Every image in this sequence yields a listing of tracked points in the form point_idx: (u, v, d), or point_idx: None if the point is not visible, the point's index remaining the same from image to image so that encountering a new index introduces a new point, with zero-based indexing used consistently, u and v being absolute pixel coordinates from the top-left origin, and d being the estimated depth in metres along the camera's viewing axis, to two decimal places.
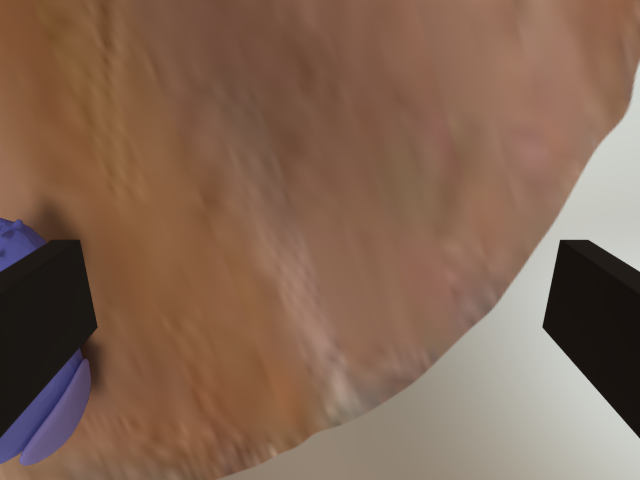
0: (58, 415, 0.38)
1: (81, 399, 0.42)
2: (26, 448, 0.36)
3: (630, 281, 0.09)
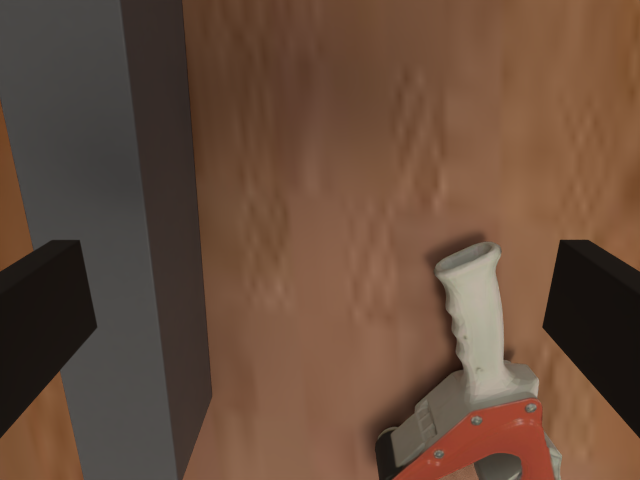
0: None
1: None
2: None
3: (630, 281, 0.09)
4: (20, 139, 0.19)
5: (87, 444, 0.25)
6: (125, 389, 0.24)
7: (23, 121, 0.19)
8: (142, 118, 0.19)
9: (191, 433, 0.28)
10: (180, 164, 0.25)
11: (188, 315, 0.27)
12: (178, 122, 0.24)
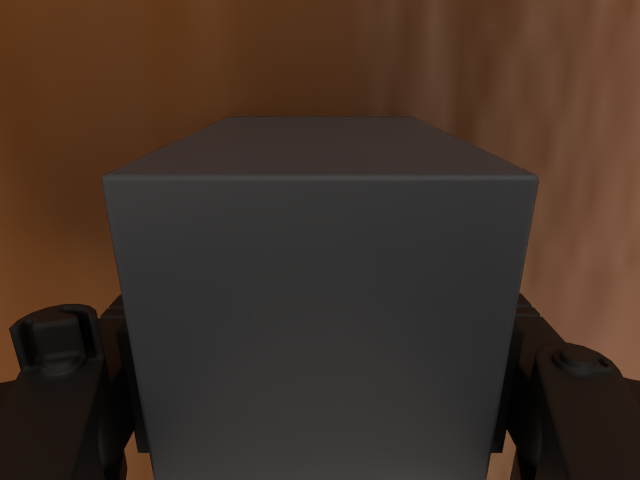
0: None
1: None
2: None
3: None
4: None
5: None
6: None
7: None
8: None
9: None
10: None
11: None
12: None
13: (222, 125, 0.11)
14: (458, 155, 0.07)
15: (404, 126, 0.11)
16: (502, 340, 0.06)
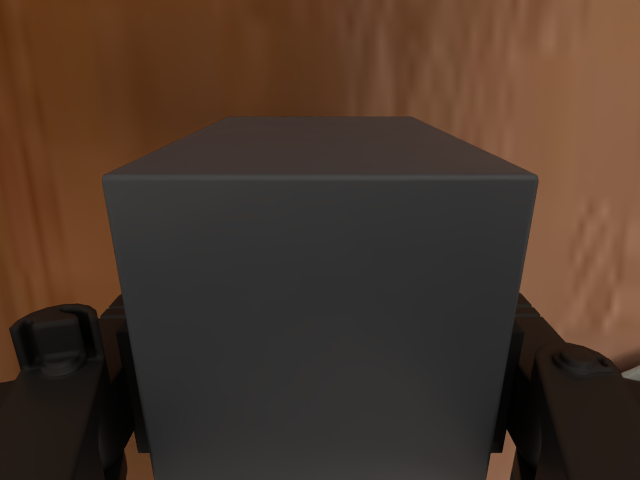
0: None
1: None
2: None
3: None
4: None
5: None
6: None
7: None
8: None
9: None
10: None
11: None
12: None
13: (222, 125, 0.11)
14: (458, 155, 0.07)
15: (404, 126, 0.11)
16: (502, 339, 0.06)
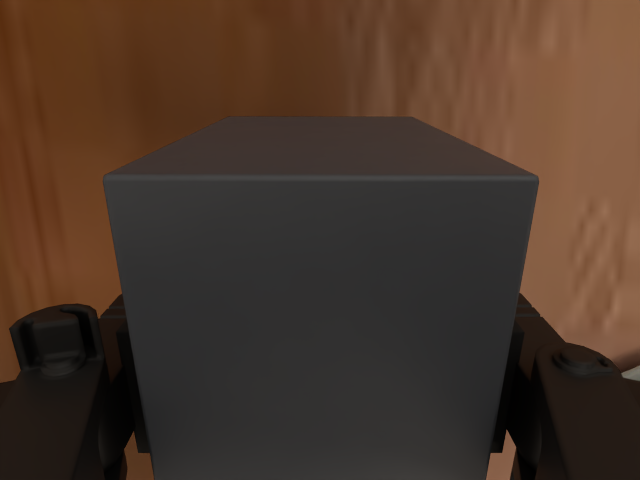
0: None
1: None
2: None
3: None
4: None
5: None
6: None
7: None
8: None
9: None
10: None
11: None
12: None
13: (222, 125, 0.11)
14: (458, 155, 0.07)
15: (404, 126, 0.11)
16: (502, 339, 0.06)
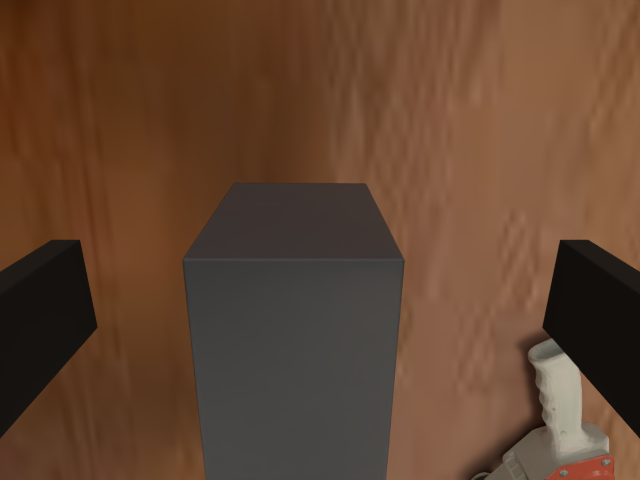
0: None
1: None
2: None
3: (630, 281, 0.09)
4: None
5: None
6: None
7: None
8: None
9: None
10: None
11: None
12: None
13: (233, 198, 0.16)
14: (372, 239, 0.12)
15: (354, 200, 0.16)
16: (392, 341, 0.12)
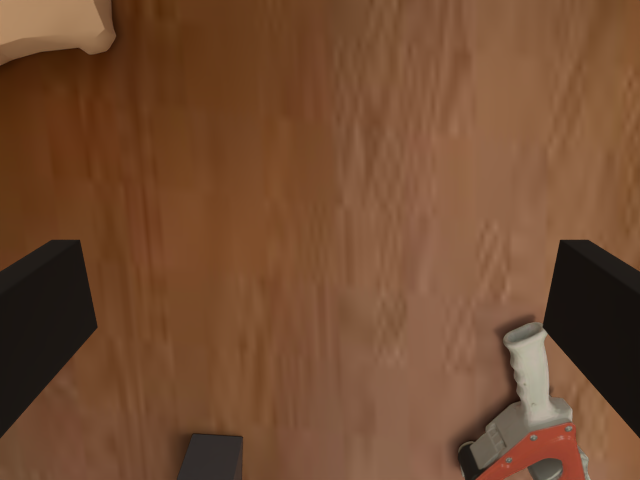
0: None
1: None
2: None
3: (630, 281, 0.09)
4: None
5: None
6: None
7: None
8: None
9: None
10: None
11: None
12: None
13: (190, 451, 0.47)
14: None
15: (231, 455, 0.47)
16: None
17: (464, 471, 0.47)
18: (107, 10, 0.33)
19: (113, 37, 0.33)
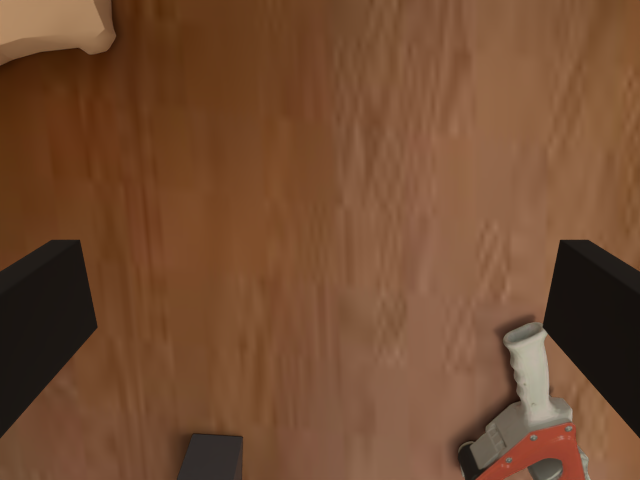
0: None
1: None
2: None
3: (630, 281, 0.09)
4: None
5: None
6: None
7: None
8: None
9: None
10: None
11: None
12: None
13: (190, 451, 0.47)
14: None
15: (231, 455, 0.47)
16: None
17: (464, 471, 0.47)
18: (107, 10, 0.33)
19: (113, 37, 0.33)
